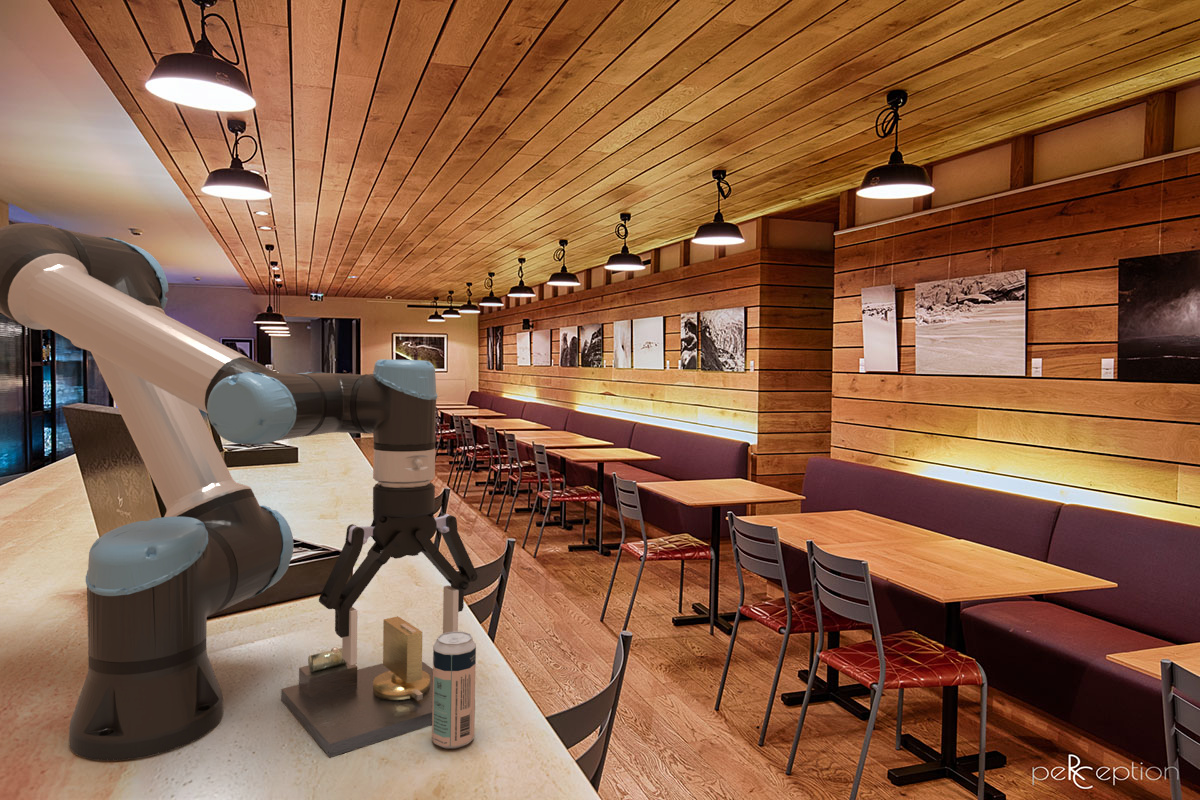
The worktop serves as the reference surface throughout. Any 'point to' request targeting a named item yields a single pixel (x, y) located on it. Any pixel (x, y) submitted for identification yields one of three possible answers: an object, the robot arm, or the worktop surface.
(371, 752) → the worktop surface
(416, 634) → the gold disc with bar
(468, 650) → the beer can
